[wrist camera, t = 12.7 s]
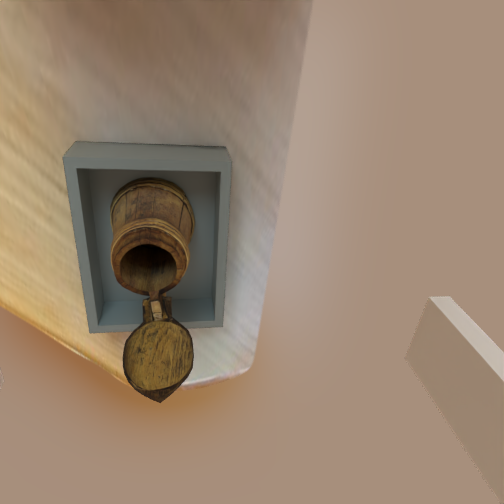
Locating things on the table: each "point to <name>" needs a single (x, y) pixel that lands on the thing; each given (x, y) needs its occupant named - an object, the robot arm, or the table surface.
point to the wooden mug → (153, 280)
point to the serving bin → (100, 232)
